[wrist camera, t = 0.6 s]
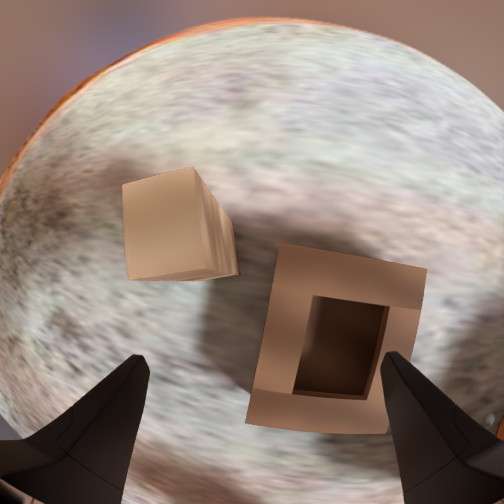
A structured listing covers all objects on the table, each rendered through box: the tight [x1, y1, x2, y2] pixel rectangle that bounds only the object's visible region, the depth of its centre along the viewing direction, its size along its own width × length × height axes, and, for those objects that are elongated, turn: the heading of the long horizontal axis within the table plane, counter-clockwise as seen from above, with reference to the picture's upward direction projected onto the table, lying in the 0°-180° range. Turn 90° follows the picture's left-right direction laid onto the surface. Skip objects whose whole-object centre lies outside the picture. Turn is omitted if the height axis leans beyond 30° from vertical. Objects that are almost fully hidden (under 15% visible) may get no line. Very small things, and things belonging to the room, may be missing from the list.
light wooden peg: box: [122, 167, 240, 281], centre depth 18 cm, size 4×4×12 cm
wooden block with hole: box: [245, 242, 427, 434], centre depth 20 cm, size 13×11×6 cm
